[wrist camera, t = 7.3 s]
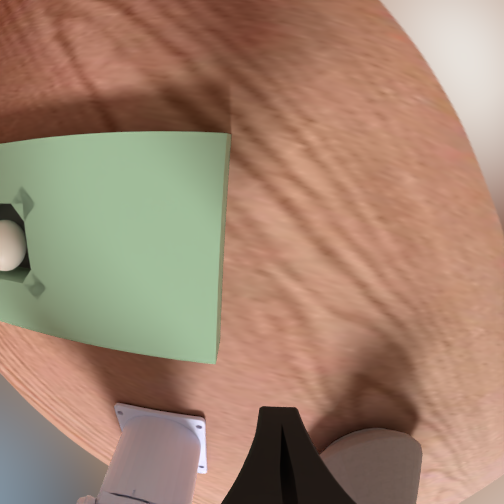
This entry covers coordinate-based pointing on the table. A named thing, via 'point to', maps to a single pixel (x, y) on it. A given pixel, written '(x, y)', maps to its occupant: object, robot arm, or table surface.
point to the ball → (11, 245)
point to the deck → (119, 239)
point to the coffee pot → (376, 466)
